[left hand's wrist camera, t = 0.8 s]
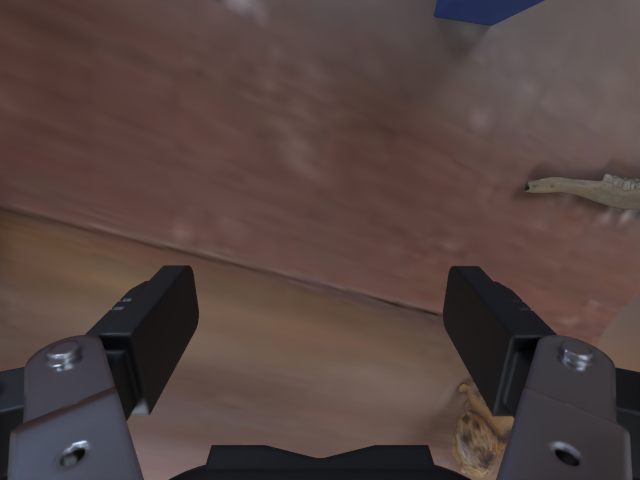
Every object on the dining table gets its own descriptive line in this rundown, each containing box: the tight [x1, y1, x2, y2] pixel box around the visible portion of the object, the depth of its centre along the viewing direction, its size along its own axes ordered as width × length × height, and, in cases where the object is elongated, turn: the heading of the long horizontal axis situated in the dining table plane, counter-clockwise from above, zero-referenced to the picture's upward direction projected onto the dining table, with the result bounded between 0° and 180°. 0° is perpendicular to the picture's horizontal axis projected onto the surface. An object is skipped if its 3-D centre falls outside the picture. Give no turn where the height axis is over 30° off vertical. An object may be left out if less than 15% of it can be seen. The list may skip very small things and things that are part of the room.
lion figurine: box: [452, 384, 514, 479], centre depth 39 cm, size 15×5×9 cm, turn 113°
